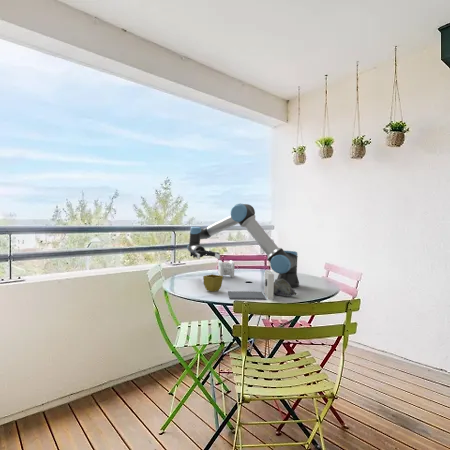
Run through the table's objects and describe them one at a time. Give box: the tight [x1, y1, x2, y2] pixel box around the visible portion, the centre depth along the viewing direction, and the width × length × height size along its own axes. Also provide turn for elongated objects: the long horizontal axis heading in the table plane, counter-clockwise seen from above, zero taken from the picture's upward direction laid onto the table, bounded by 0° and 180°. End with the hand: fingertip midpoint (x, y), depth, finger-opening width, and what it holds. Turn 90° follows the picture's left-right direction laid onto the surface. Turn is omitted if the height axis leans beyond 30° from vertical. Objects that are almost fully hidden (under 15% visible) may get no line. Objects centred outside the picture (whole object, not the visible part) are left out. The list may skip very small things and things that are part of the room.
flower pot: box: [202, 273, 224, 293], centre depth 202 cm, size 9×9×9 cm
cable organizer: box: [217, 259, 235, 279], centre depth 245 cm, size 15×11×12 cm
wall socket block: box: [263, 269, 275, 300], centre depth 191 cm, size 4×12×14 cm, turn 3°
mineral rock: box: [273, 278, 298, 297], centre depth 193 cm, size 13×11×10 cm
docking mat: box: [227, 290, 267, 301], centre depth 191 cm, size 20×14×1 cm
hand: (209, 257), depth 210 cm, fingers open, 13 cm apart
